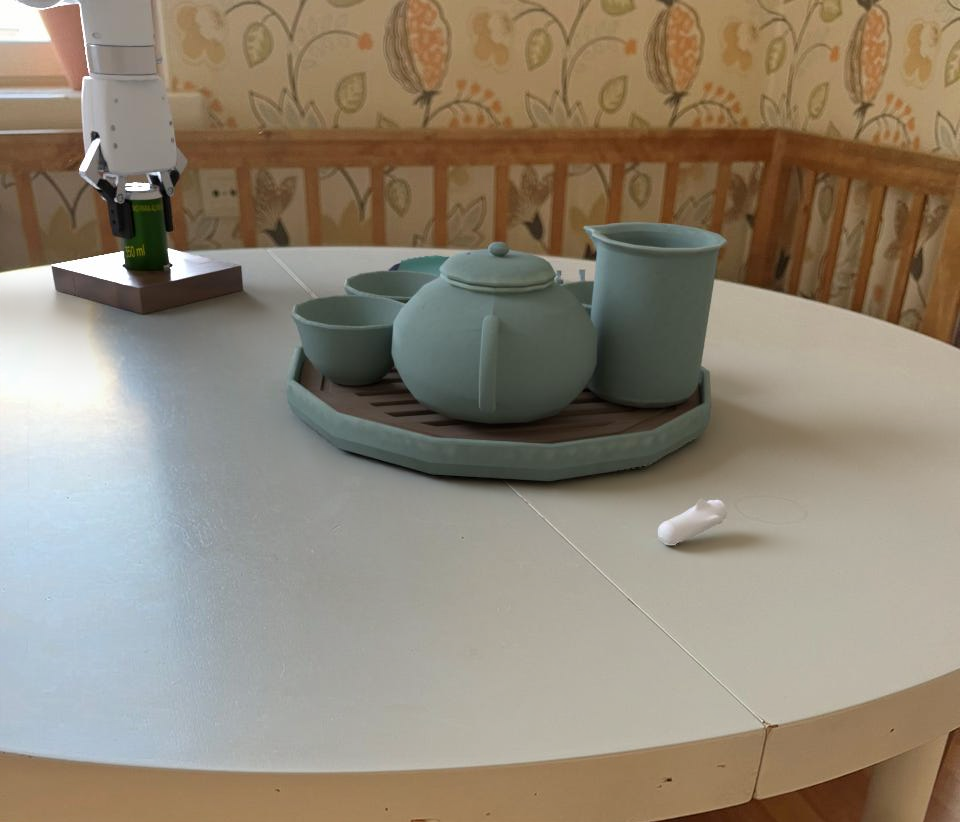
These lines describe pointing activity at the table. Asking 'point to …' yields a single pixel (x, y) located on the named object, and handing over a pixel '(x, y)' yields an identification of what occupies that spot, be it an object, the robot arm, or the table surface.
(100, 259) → the holder
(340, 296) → the tea set
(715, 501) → the small white plastic part
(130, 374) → the table surface
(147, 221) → the beer can
